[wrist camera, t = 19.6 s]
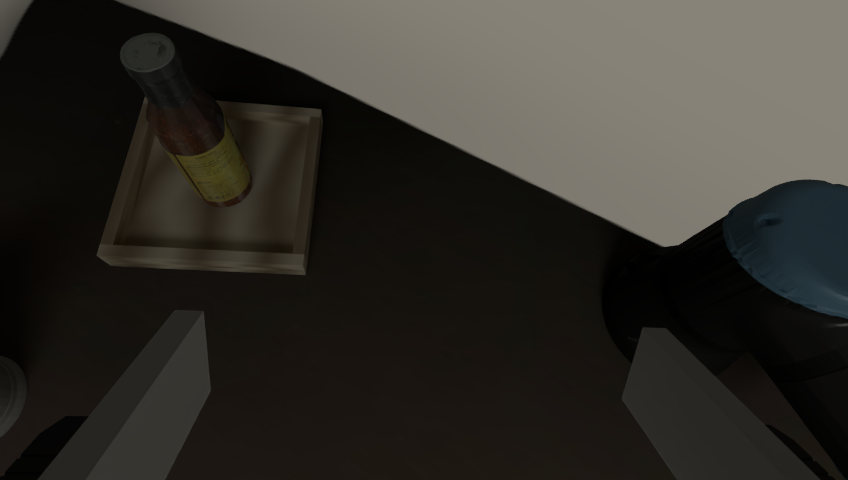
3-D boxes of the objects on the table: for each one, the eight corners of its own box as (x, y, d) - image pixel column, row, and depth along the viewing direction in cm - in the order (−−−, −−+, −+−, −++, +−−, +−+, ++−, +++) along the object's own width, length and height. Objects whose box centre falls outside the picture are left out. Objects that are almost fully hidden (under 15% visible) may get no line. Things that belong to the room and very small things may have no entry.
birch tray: (323, 124, 60) (321, 109, 57) (306, 274, 52) (302, 265, 49) (156, 111, 58) (145, 94, 55) (111, 266, 50) (96, 255, 47)
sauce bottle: (264, 176, 55) (216, 43, 37) (233, 219, 52) (164, 99, 34) (215, 153, 55) (143, 9, 37) (181, 194, 53) (87, 62, 35)
